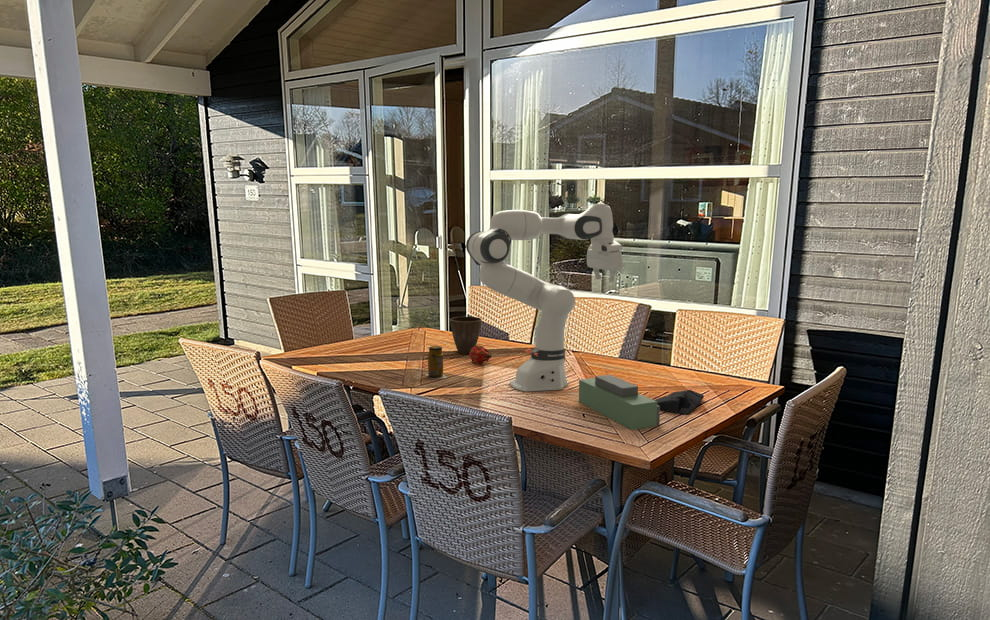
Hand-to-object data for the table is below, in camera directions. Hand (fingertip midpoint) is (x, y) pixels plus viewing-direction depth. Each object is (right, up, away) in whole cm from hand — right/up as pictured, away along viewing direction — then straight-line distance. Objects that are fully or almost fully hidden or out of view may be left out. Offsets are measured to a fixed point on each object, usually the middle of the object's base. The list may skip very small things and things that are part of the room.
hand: (604, 280), depth 252 cm
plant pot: (-57, -32, +52) cm, 84 cm away
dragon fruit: (-50, -35, +31) cm, 68 cm away
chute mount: (-2, -46, -39) cm, 60 cm away
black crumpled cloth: (+21, -45, -29) cm, 57 cm away
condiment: (-67, -39, +8) cm, 78 cm away
